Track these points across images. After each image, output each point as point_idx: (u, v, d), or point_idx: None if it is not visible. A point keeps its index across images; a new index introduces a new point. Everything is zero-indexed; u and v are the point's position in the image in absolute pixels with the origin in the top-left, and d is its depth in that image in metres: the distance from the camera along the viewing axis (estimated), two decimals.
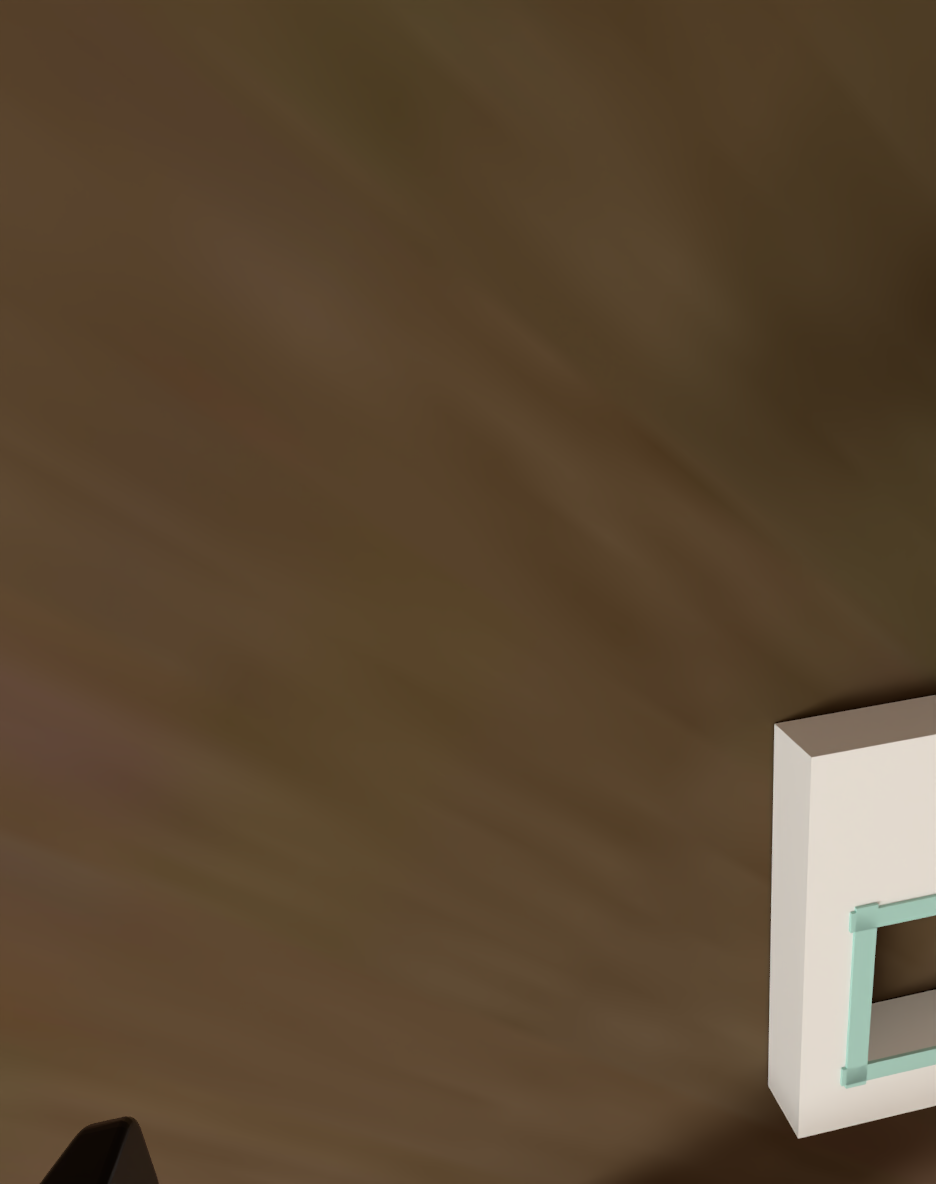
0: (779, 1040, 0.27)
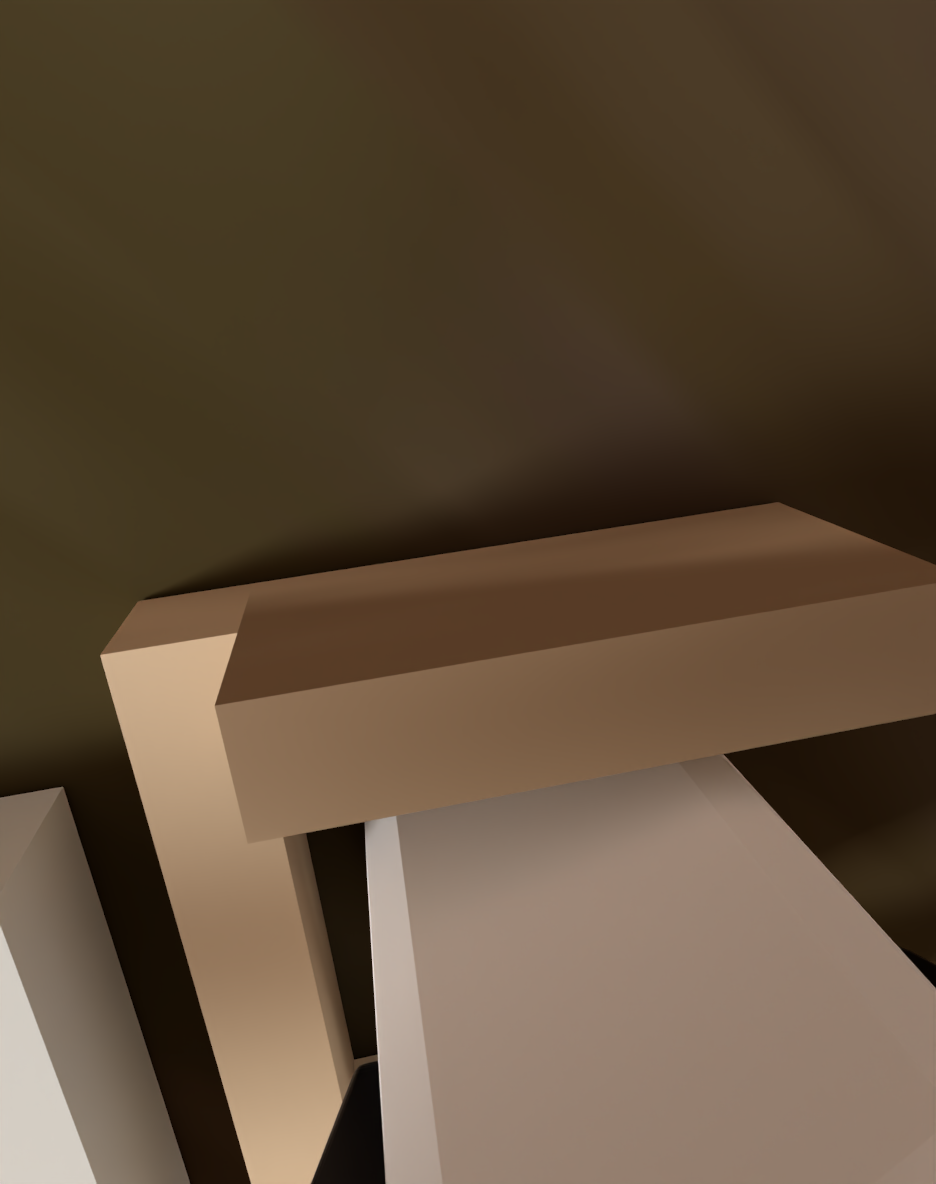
0: None
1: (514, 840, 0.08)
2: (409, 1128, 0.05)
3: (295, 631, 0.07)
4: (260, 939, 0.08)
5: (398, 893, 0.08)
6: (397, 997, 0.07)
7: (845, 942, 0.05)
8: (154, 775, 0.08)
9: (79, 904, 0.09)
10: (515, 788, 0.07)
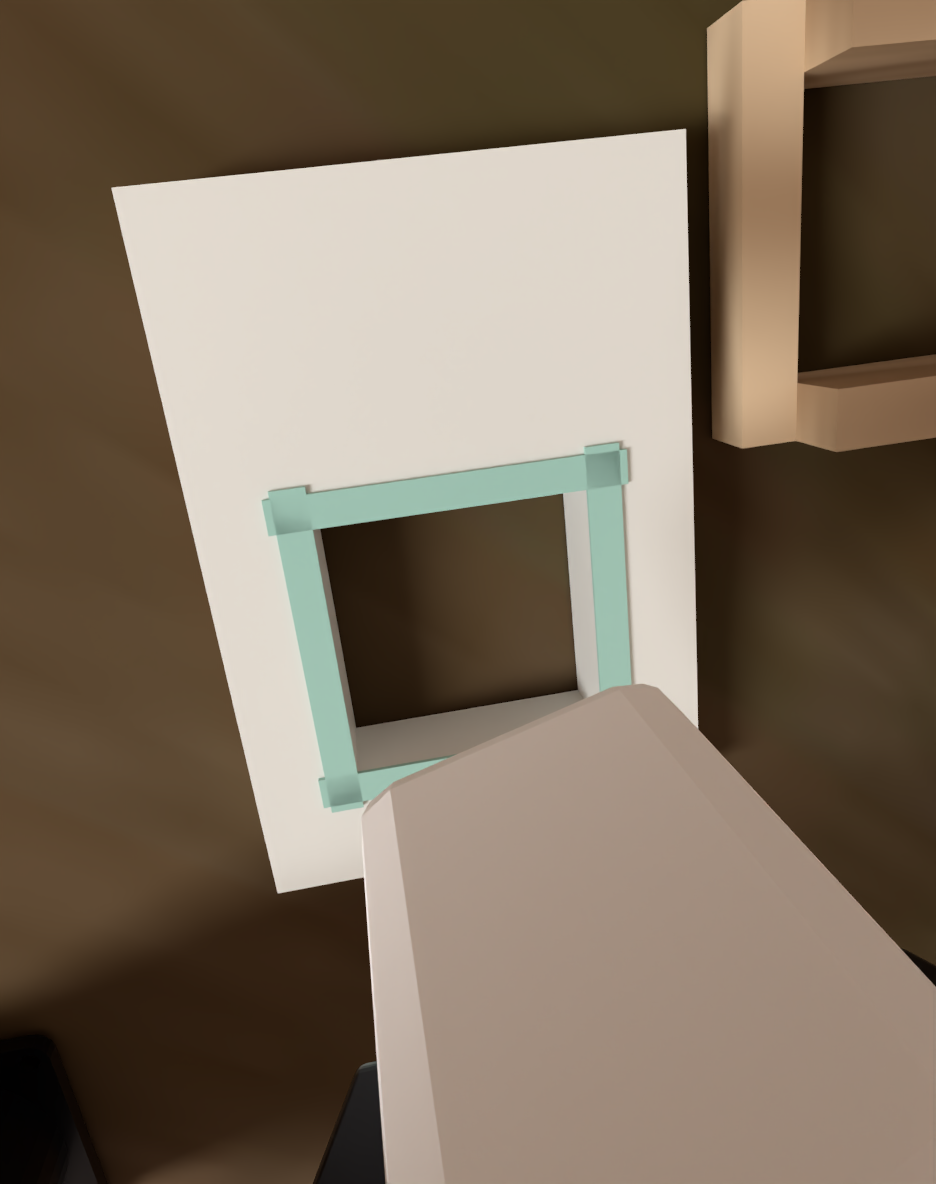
0: None
1: (514, 840, 0.08)
2: (411, 1128, 0.05)
3: None
4: (779, 202, 0.16)
5: (397, 892, 0.08)
6: (397, 997, 0.06)
7: (848, 942, 0.05)
8: (751, 81, 0.15)
9: None
10: None
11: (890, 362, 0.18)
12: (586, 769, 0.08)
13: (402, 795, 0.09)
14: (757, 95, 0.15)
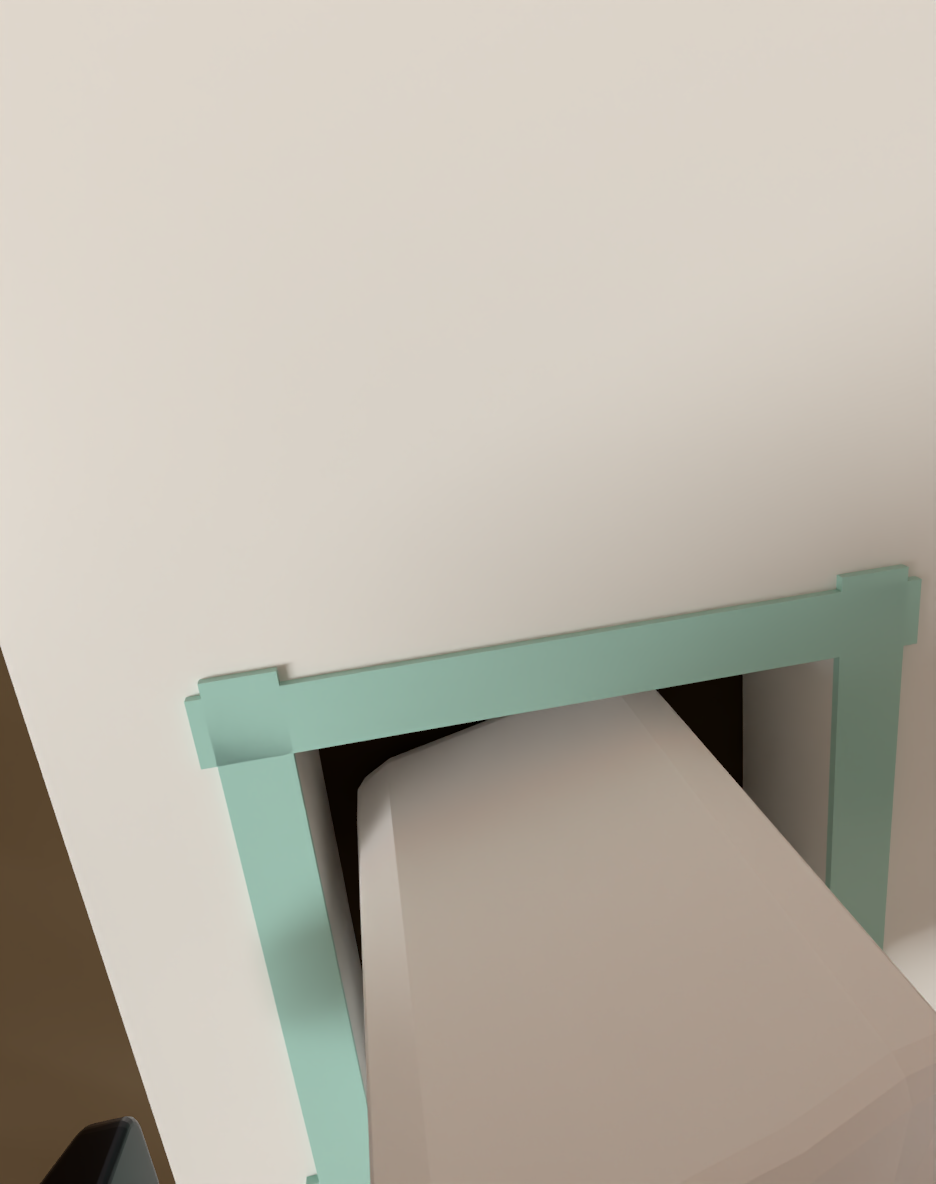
0: None
1: (500, 811, 0.08)
2: (393, 1061, 0.06)
3: None
4: None
5: (389, 856, 0.08)
6: (385, 948, 0.07)
7: (802, 906, 0.06)
8: None
9: None
10: None
11: None
12: (572, 749, 0.09)
13: (396, 768, 0.09)
14: None
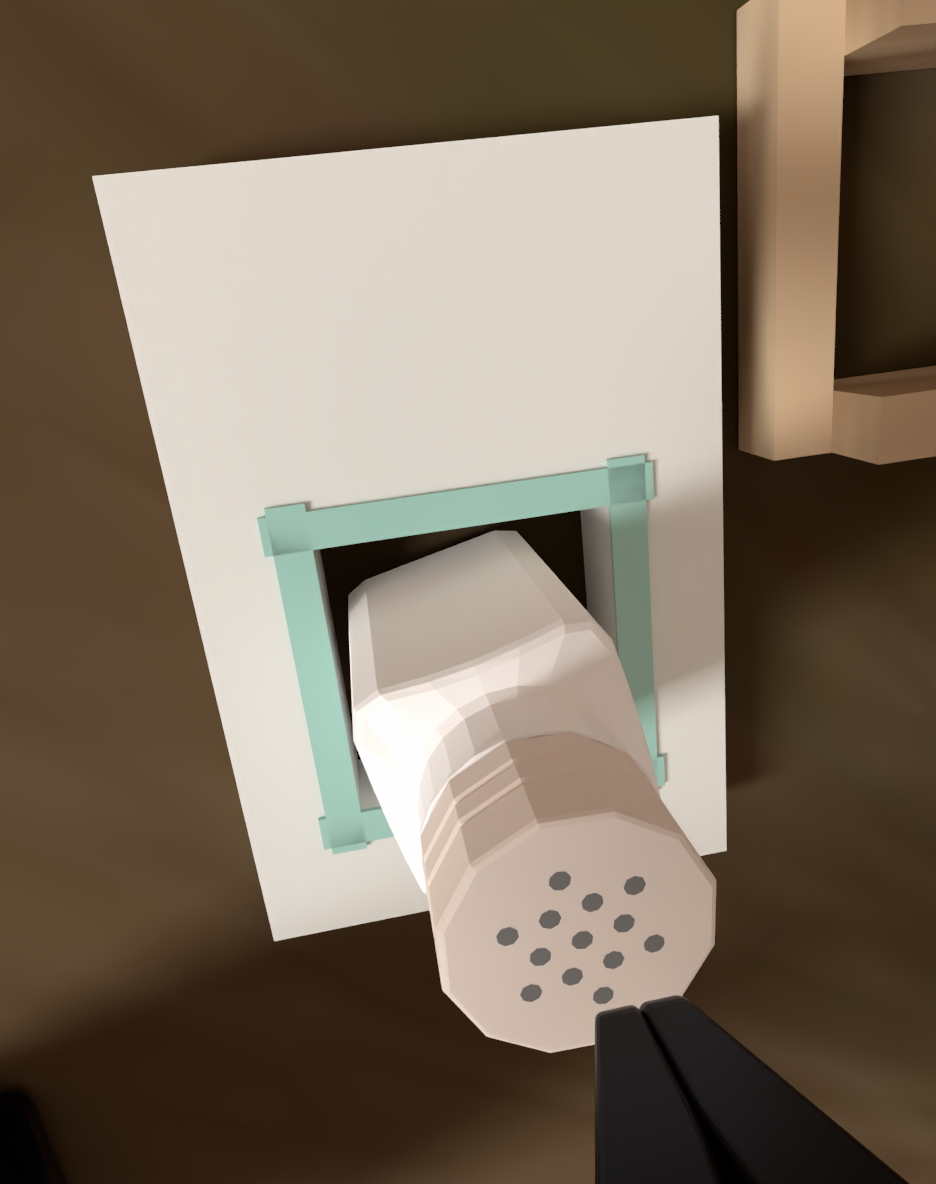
0: None
1: (424, 585, 0.15)
2: (362, 664, 0.13)
3: None
4: (816, 196, 0.15)
5: (364, 610, 0.15)
6: (360, 637, 0.14)
7: (551, 592, 0.13)
8: (787, 65, 0.14)
9: None
10: None
11: (928, 368, 0.17)
12: (466, 559, 0.15)
13: (370, 580, 0.16)
14: (794, 80, 0.14)
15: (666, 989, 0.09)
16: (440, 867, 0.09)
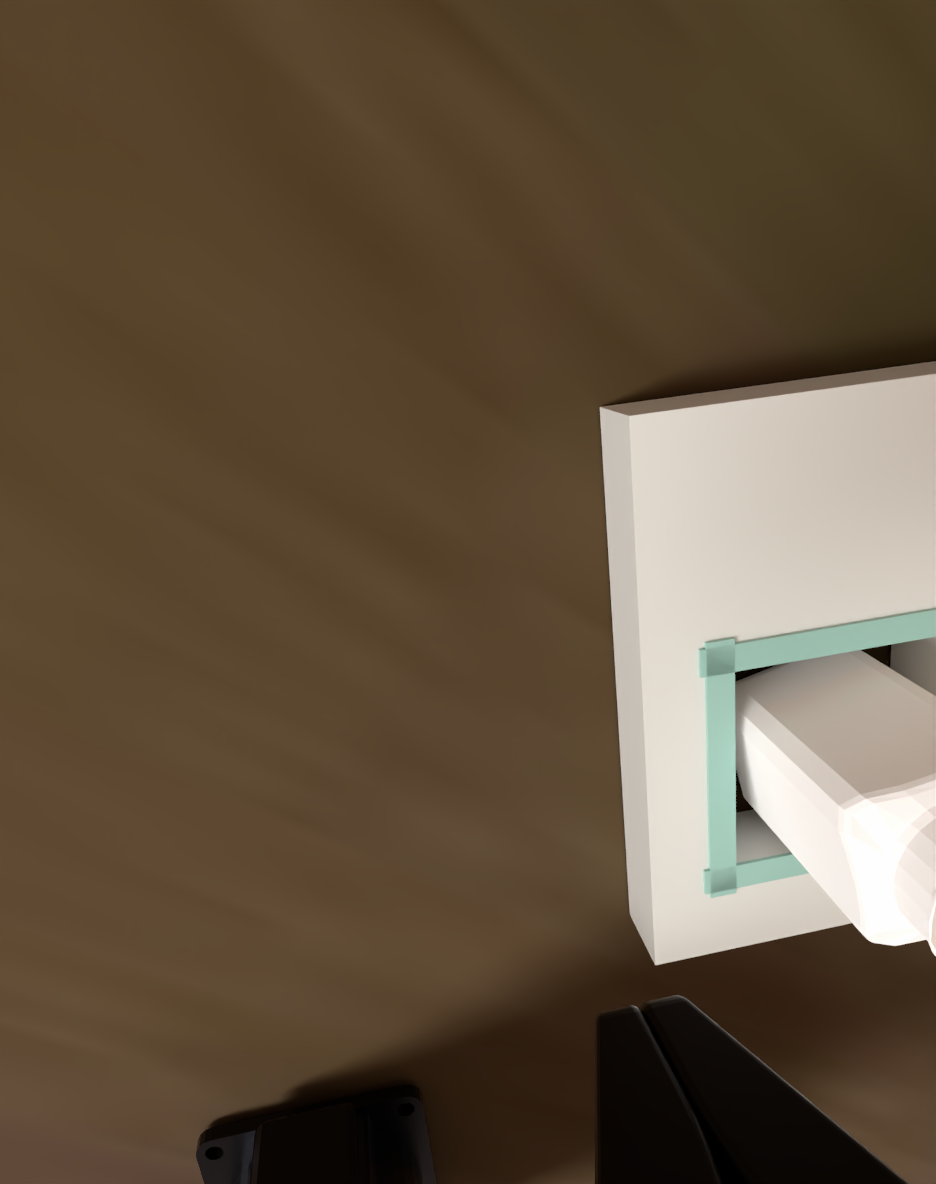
0: (633, 845, 0.22)
1: (813, 696, 0.20)
2: (814, 767, 0.17)
3: None
4: None
5: (767, 715, 0.20)
6: (787, 741, 0.18)
7: None
8: None
9: None
10: None
11: None
12: (834, 673, 0.20)
13: (744, 685, 0.21)
14: None
15: None
16: None
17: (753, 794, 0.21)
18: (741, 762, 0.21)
